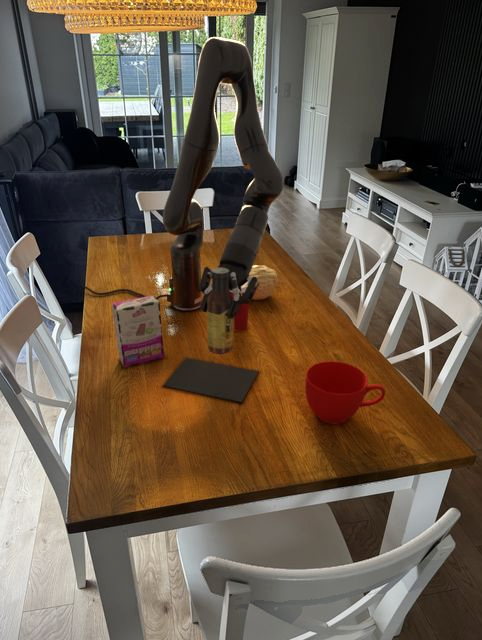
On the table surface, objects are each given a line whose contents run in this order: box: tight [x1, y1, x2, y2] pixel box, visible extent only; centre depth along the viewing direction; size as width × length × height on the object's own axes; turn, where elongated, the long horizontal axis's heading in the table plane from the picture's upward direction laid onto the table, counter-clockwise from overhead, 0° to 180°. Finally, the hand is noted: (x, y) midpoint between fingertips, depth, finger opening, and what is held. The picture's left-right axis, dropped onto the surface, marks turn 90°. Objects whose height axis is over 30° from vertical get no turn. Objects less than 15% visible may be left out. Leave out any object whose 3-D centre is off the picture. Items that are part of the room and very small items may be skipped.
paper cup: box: [230, 282, 250, 332], centre depth 142 cm, size 8×8×14 cm
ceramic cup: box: [304, 360, 386, 425], centre depth 106 cm, size 13×17×10 cm
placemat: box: [162, 357, 260, 404], centre depth 120 cm, size 20×14×1 cm
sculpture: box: [249, 264, 278, 301], centre depth 162 cm, size 12×12×11 cm
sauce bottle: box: [206, 267, 235, 355], centre depth 112 cm, size 6×6×20 cm
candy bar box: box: [111, 294, 165, 368], centre depth 125 cm, size 11×5×16 cm, turn 117°
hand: (216, 314), depth 111 cm, fingers closed on sauce bottle, 6 cm apart
